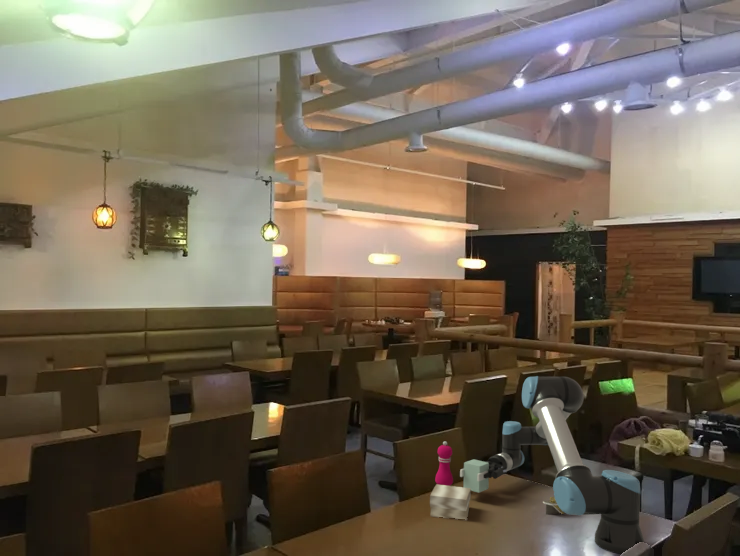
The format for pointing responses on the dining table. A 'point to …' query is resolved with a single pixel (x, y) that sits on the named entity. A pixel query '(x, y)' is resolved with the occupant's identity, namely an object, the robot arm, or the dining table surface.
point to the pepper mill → (444, 465)
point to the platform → (552, 506)
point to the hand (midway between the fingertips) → (469, 475)
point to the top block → (450, 497)
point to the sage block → (475, 475)
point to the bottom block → (449, 513)
